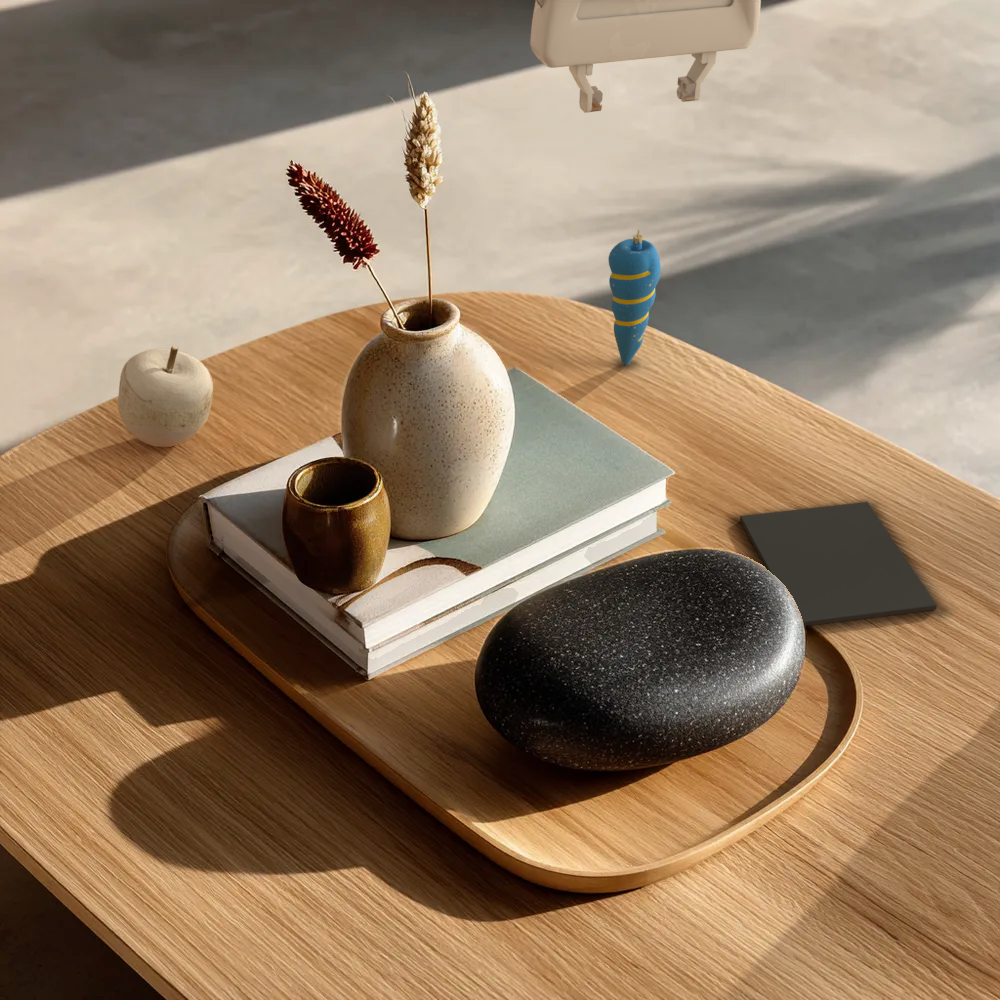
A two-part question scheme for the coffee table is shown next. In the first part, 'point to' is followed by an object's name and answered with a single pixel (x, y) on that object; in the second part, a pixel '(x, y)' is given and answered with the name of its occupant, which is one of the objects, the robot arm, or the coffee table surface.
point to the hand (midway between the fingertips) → (639, 104)
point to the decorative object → (164, 396)
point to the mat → (837, 563)
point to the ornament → (632, 291)
